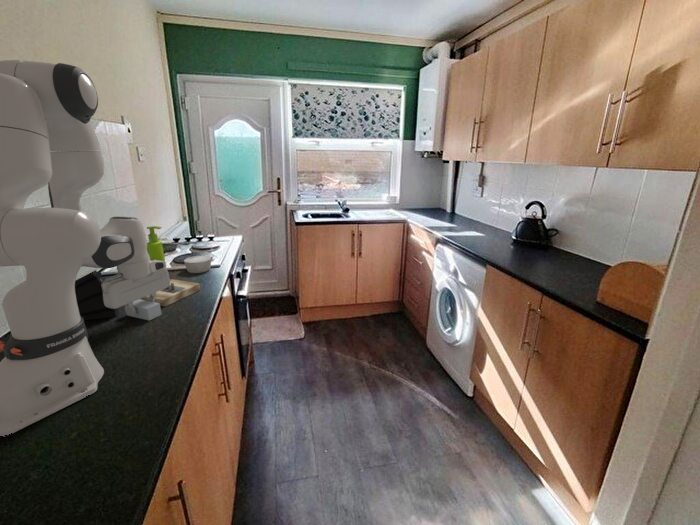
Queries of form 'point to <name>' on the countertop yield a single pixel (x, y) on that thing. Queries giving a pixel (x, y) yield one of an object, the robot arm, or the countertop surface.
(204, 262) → the ramekin
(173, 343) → the countertop surface
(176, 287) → the board
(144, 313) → the block
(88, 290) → the black ridged block
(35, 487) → the countertop surface
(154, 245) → the soap dispenser
